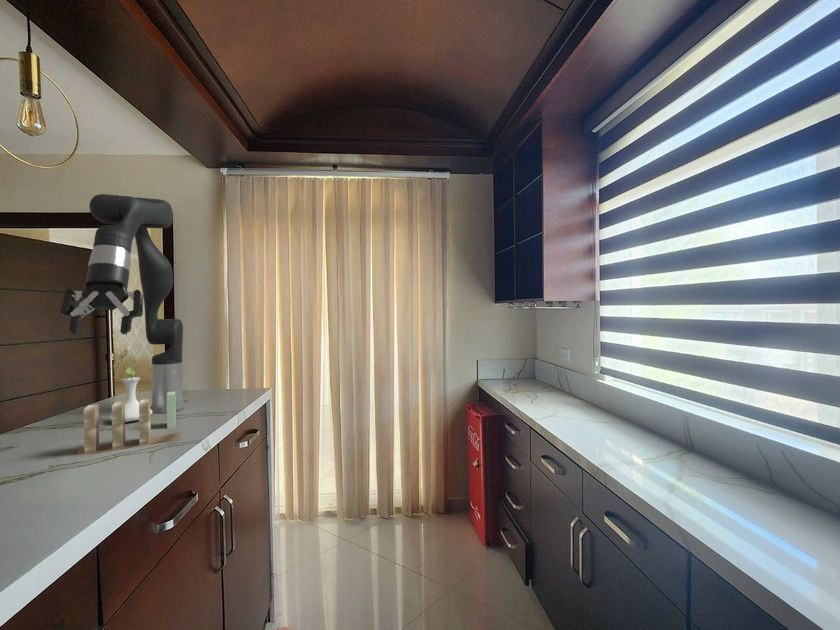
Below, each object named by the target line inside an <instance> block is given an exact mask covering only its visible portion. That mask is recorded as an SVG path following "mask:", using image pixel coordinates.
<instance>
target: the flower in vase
mask: <svg viewBox="0 0 840 630" xmlns="http://www.w3.org/2000/svg"><path fill="white" fill-rule="evenodd" d="M130 348H131V347H130V345H128V346H125V347H124V349H123V350H121V351H120V352H119V355H118V357H117V358H116V359H115V363H114V364H113V365H112V367H113V370H115V369H117V368H119V367H120V366H121V365H122V363H124V361H126V362H127V364H128V365H129V366H128V367H127V368H126V369H125V373H126V374H128V377H125V378H122V379H121V381H122V382H123V383H124V385H125V388H126V394H127V395H126V400H125V401H124V402H125V423H130V422H136V421H139V403H140V401H138V400H137V396H136V394H137V393H136V392H137V391H136V390H137V385H138V383H139V381H140V380H141V377H138V376H137V377H134V376H133V375H135V374H136V371H134V369H133V367H132V364H131V363H130V362H129V360H128V359H127V356H128V354H129V353H130ZM153 413H154V412H153V410H152V408H150V416H151V415H153ZM109 420H111V421H112V413H111V414H110V416H109Z"/></svg>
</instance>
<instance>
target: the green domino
mask: <svg viewBox="0 0 840 630" xmlns="http://www.w3.org/2000/svg"><path fill="white" fill-rule="evenodd" d="M176 412H177V411H176V407H175V391H174V392H168V393H167V412H166V420H167V421H166V428H167V429H172V428H176Z"/></svg>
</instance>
